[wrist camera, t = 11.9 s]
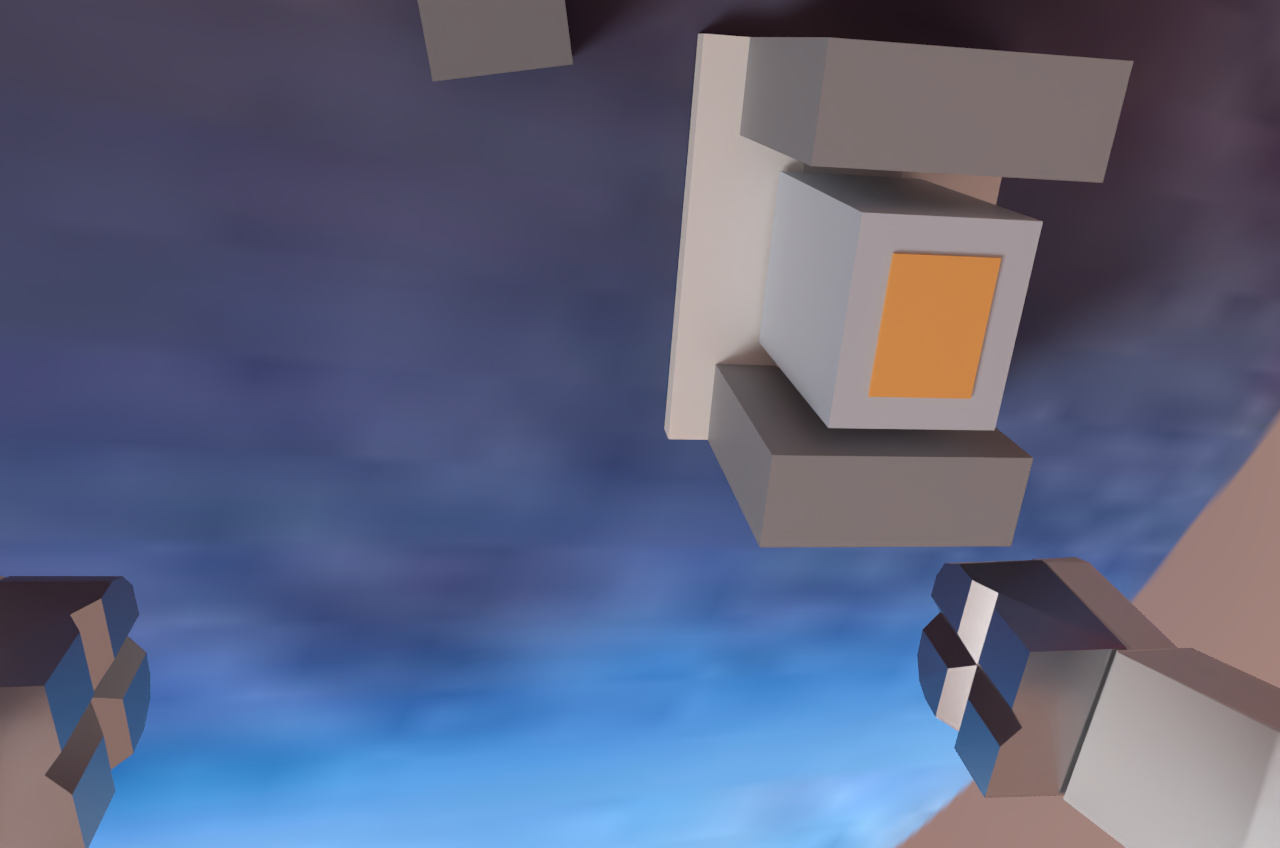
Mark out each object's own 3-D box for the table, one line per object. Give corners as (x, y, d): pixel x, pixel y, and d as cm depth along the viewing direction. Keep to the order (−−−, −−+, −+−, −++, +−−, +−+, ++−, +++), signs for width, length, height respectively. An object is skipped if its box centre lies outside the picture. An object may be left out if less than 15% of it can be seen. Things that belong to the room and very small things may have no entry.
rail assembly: (698, 33, 30) (768, 32, 22) (1011, 57, 32) (1187, 65, 23) (664, 428, 35) (710, 547, 27) (934, 432, 37) (1055, 545, 29)
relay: (424, -27, 29) (410, -37, 25) (552, -42, 29) (558, -54, 25) (442, 76, 30) (432, 81, 26) (565, 61, 30) (573, 64, 26)
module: (779, 170, 31) (863, 213, 24) (920, 178, 32) (1045, 222, 24) (758, 341, 33) (829, 429, 26) (890, 345, 34) (996, 431, 27)
